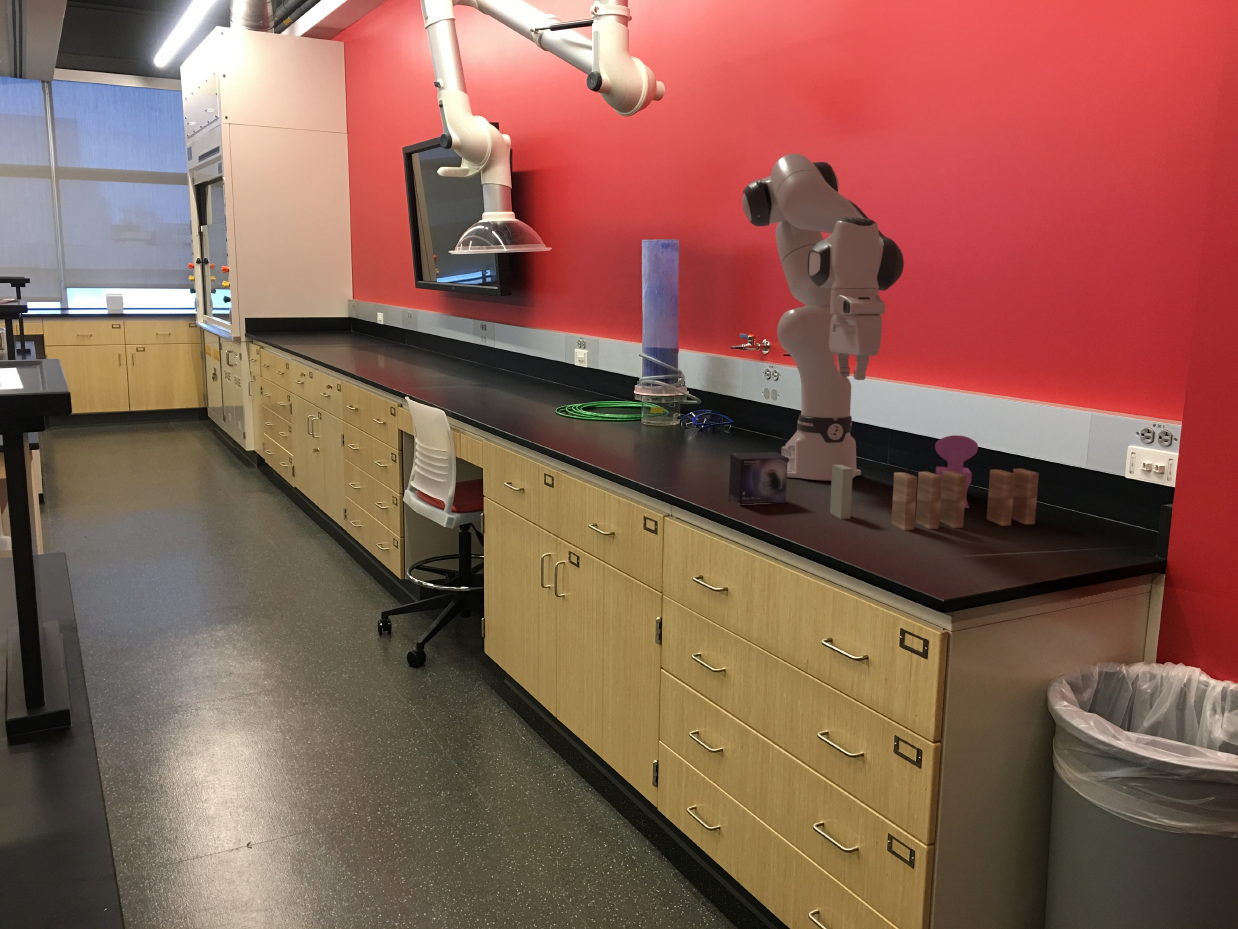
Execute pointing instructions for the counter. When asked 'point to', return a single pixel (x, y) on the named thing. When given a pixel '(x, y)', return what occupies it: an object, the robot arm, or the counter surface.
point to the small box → (758, 477)
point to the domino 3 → (928, 500)
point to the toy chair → (956, 456)
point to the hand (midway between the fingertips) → (851, 378)
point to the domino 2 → (904, 501)
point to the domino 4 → (953, 499)
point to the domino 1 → (841, 491)
